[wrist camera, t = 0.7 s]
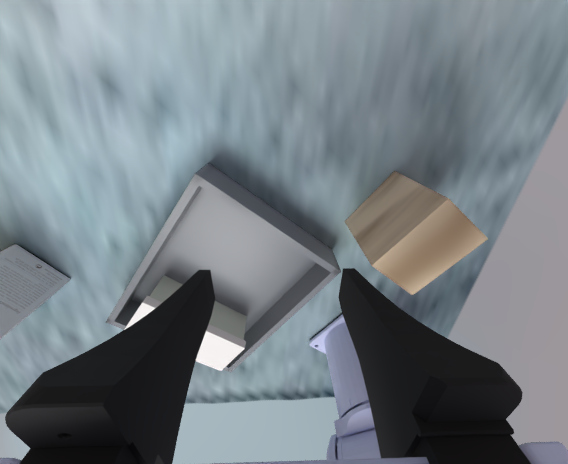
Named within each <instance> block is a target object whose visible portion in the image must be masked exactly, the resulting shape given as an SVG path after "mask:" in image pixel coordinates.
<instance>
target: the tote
mask: <svg viewBox="0 0 568 464" xmlns="http://www.w3.org/2000/svg"><path fill="white" fill-rule="evenodd" d="M198 270H210V271H211V276H212V282H213V288H214V294H215V301H217V302H219V303H221V304H223V305H225V306H227V307H229V308H231V309H233V310H235V311H237V312H239V313H241V314H243V315H245V316H247V319H246V326H245V333H244V340H245V341H246V345H245V349H244V350H243V351H242V352H241V353H240V354H238V355H237V356H236V357H235V358H234V359H233V360H232V361H231V362H230V363H229V364H228V365H227V366H226V367H225V368H224V370H226V371H229V372H232V371H233V370H234V369H235V368H236V367H237V366H238V365H239V364H241V363H242V362H243V361H244V360H245V359H246V358H247V357H248V356H249V355H250V354H252V353H253V352H254V351H255V350H256V349H257V348H258V347H259V346H260V345H261V344H262V343H264V342H265V341H266V340H267V339H268V338H269V337H270V336H271V335H272V334H273V333H274V332H276V331H277V330H278V329H279V328H280V327H281V326H282V325H283V324H284V323H285V322H287V321H288V320H289V319H290V318H291V317H292V316H293V315H294V314H295V313H296V312H297V311H299V310H300V309H301V308H302V307H303V306H304V305H305V304H306V303H307V302H308V301H309V300H311V299H312V298H313V297H314V296H315V295H316V294H317V293H318V292H319V291H320V290H321V289H323V288H324V287H325V286H326V285H327V284H328V283H329V282H330V281H331V280H332V279H334V278H335V277H336V276H337V275H338V274H339V273H340V272H341V270H340V268H339V265H338V263H337V260H336V258H335V255H334V253H333V250H332V249H330V248H329V247H327V246H326V245H325V244H323V243H322V242H320V241H319V240H317V239H316V238H315V237H313V236H312V235H310V234H309V233H307V232H306V231H305V230H303V229H302V228H300V227H299V226H298V225H296V224H295V223H293V222H292V221H290V220H289V219H288V218H286V217H285V216H283V215H282V214H281V213H279V212H278V211H276V210H275V209H273V208H272V207H271V206H269V205H268V204H266V203H265V202H263V201H262V200H261V199H259V198H258V197H256V196H255V195H254V194H252V193H251V192H249V191H248V190H246V189H245V188H244V187H242V186H241V185H239V184H238V183H236V182H235V181H234V180H232V179H231V178H229V177H228V176H227V175H225V174H224V173H222V172H221V171H219V170H218V169H217V168H215V167H214V166H212V165H211V164H210V163H208V164H207V165H205V166H204V167H203V168H201V169H200V170H199V171H198V172H196V173H195V175H194V176H193V178H192V180H191V181H190V183H189V185H188V186H187V188H186V189H185V191H184V193H183V194H182V196H181V198H180V199H179V201H178V203H177V204H176V206H175V208H174V209H173V211H172V213H171V214H170V216H169V218H168V219H167V221H166V223H165V224H164V226H163V228H162V229H161V231H160V233H159V234H158V236H157V238H156V239H155V241H154V243H153V244H152V246H151V248H150V249H149V251H148V253H147V254H146V256H145V258H144V259H143V261H142V263H141V264H140V266H139V268H138V269H137V271H136V273H135V274H134V276H133V278H132V279H131V281H130V283H129V284H128V286H127V288H126V289H125V291H124V293H123V294H122V296H121V297H120V299H119V301H118V302H117V304H116V306H115V307H114V309H113V311H112V312H111V314H110V316H109V317H108V319H107V321H106V323H109V324H111V325H114V326H116V327H119V328H121V329H125V328H126V326H127V325H128V323H129V322H130V320H131V319H132V317H133V316H134V314H135V313H136V311H137V310H138V308H139V307H140V305H141V304H142V302H143V301H144V299H145V298H146V296H150V295H151V293H152V292H153V290H154V289H155V288H156V286H157V285H158V283H159V282H160V280H161V279H162V277H163V276H164V275H165V276H167V277H169V278H171V279H173V280H175V281H177V282H179V283H181V284H184V283H185V282H186V281H187V280H188V279H189V278H191V277H192V276H193V275H194V274H195V273H196V272H197V271H198Z"/></svg>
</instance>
